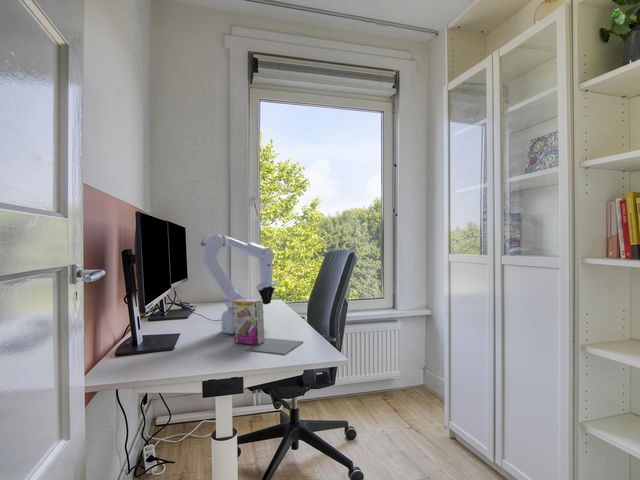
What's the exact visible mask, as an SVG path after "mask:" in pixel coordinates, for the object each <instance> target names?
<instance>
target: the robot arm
mask: <svg viewBox="0 0 640 480" xmlns="http://www.w3.org/2000/svg"><path fill="white" fill-rule="evenodd" d="M199 246H200V248H201V261H202V263H203V264H204V266H205V267H206V269H207V270H208V272H209V274H210V275H211V277H212V278H213V280H214V281H215V283H216V285H217V286H218V288H219V289H220V291H221V292H222V294H223V298H224V301H225V303H224V304H225V305H226V307H227V310H225V311H223V312H222V314H221V331H220V333H222V334H232V335H234V333H233V332H234V322H233V303H232V301H235V300H239V299H246V298H245V297H244V296H243V295H241V294H240V292H239V291H238V290H236V288H235V287H234V286H233V284H232V282H231V280H230V279H229V278H228V276H227V274H226V272H225V271H224V269H223V268H222V266H221V264H220V263H219V261H218V259H217V256H218V254H219V252H220V250H221V249H222V248H223V247H230V248H234V249H237V250H240V251H241V250H242V251H243V254H245V255H247V256H250V257H253V258H256V259H258V261H259V284H258V285H256V289H255V291H257V292H258V293H259V295H260V297H261V300H263V305H268V304H271V301H272V297H273V293H274V291H275V290H276V289H275V287H276V285H277V282H276V281H273V260H274V257H275V253H274V251H273V250H272V248H269V247H265V246H264V245H263V244H261V245H260V244H257V243H256V242H255V241H248V242H246V243H245V242H243V241H240V240H237V239H235V238H233V237H230V236H228V235H223V234H222V235H221V234H218V233H213V234H211V233H208V234H205V235H204V236H203V237H202V239H201V241H200V244H199Z"/></svg>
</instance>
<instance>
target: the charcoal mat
mask: <svg viewBox="0 0 640 480" xmlns="http://www.w3.org/2000/svg"><path fill="white" fill-rule="evenodd" d="M264 338H265V337H264ZM303 343H304V341H302V340H294V339H293V340H292V339H282V338H281V339H280V338H272V337H266V338H265V342H263V343H261V344H260V345H251V346H249V347H247V348H245V349H244V351H248V352H255V353H263V354H264V353H266V354H275V355H281V356H286V355H288V354H289V353H290V352H292V351H293V350H295V349H297V348H298V347H299V346H300V345H302V344H303Z"/></svg>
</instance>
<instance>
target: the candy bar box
mask: <svg viewBox="0 0 640 480" xmlns="http://www.w3.org/2000/svg"><path fill="white" fill-rule="evenodd" d="M232 303H233V322H234V334H233V336H234V338H233V339H234V344H240V345H251V346H252V345H260V344H261V343H263V342H265V327H264V326H265V325H264V324H265V322H264V321H265V320H264V304H263V300H262V299H247V298H245V299H239V300H235V301H232Z"/></svg>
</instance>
